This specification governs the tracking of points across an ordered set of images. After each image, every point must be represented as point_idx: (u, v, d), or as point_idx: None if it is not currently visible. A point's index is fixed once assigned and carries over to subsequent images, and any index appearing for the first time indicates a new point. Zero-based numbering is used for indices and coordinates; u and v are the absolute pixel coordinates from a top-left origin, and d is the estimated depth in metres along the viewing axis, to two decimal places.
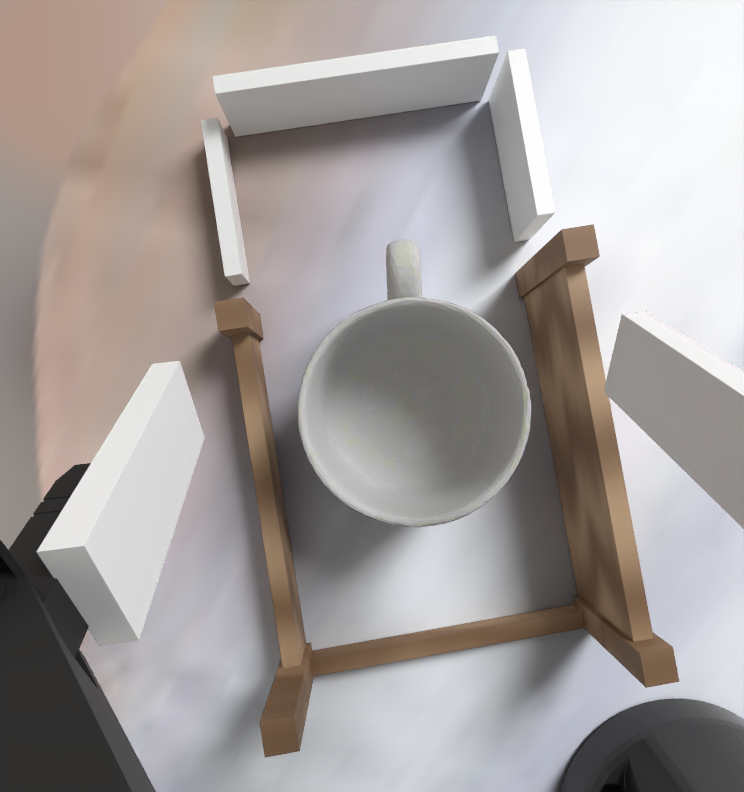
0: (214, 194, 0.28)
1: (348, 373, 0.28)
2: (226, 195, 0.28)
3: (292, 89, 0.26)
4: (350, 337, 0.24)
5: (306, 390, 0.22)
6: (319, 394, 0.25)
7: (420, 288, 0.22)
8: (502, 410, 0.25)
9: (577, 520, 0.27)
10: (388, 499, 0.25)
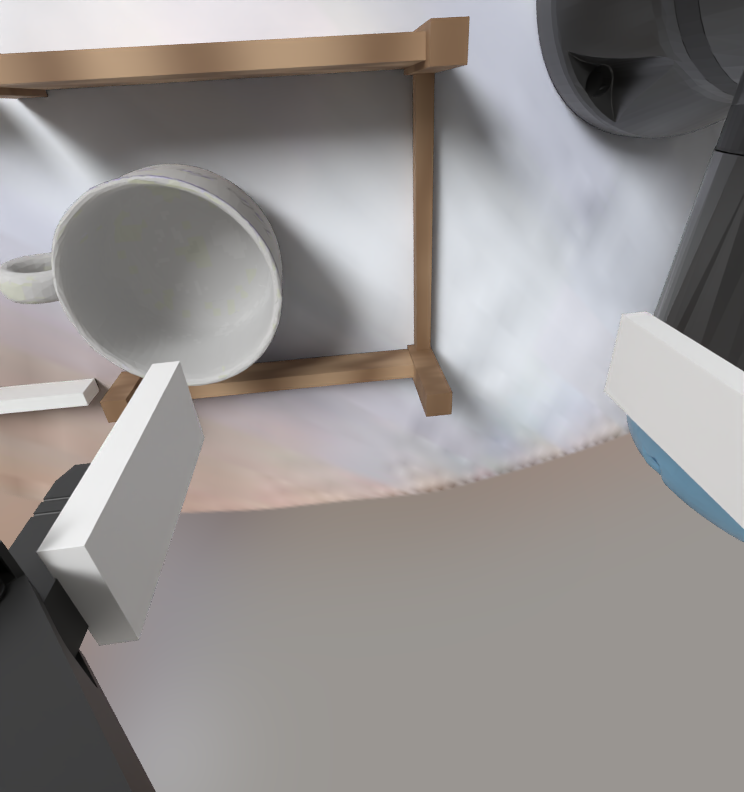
0: (12, 411, 0.32)
1: (164, 308, 0.30)
2: (10, 402, 0.31)
3: None
4: (116, 327, 0.26)
5: None
6: (178, 349, 0.28)
7: (45, 274, 0.23)
8: None
9: (310, 72, 0.24)
10: (272, 298, 0.27)
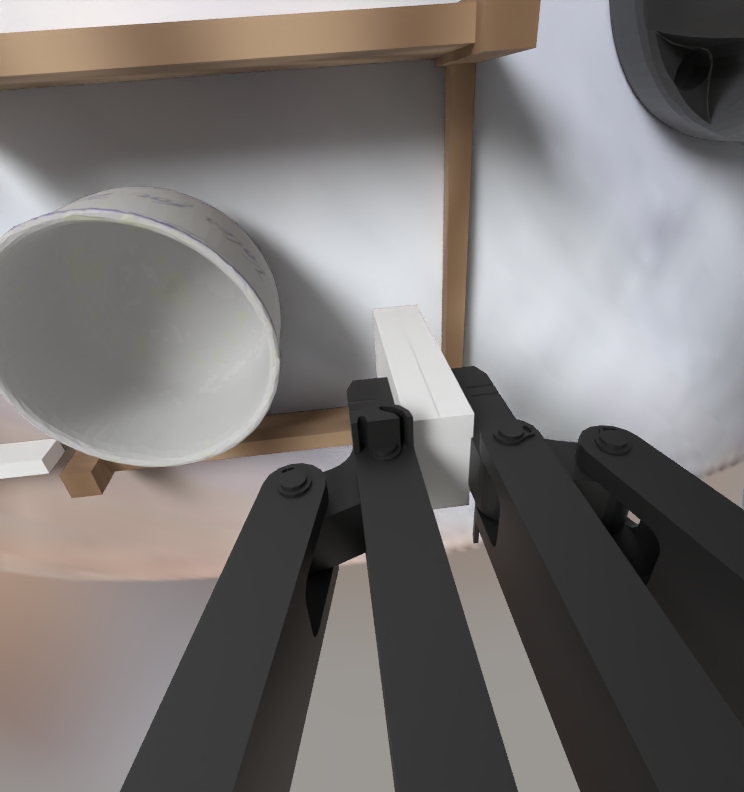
0: None
1: (136, 360, 0.24)
2: None
3: None
4: (71, 392, 0.21)
5: (132, 459, 0.20)
6: (152, 414, 0.23)
7: None
8: None
9: (314, 63, 0.18)
10: (268, 351, 0.21)
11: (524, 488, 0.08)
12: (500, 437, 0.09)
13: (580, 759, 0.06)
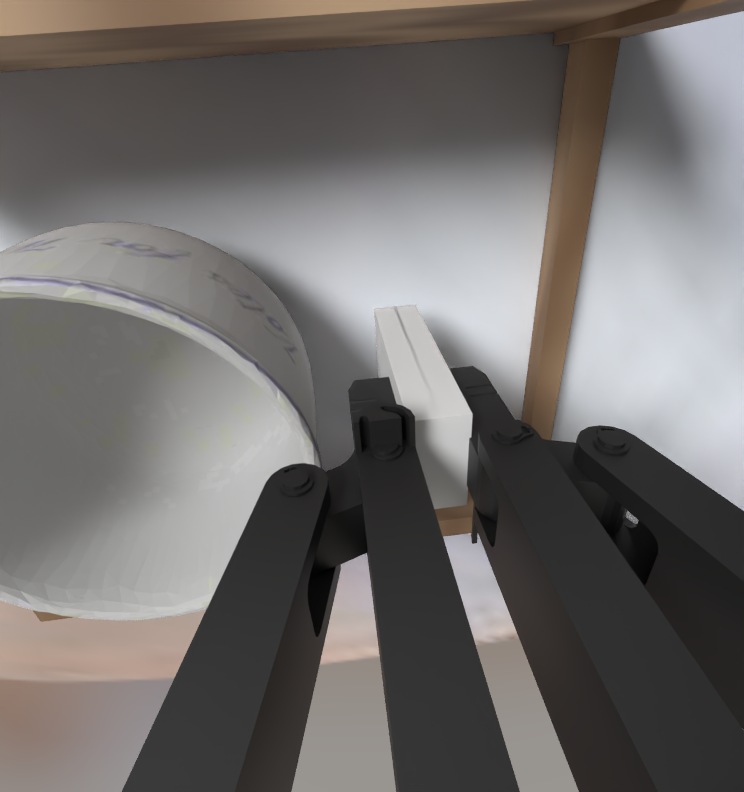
0: None
1: (114, 446, 0.18)
2: None
3: None
4: (16, 513, 0.14)
5: (103, 611, 0.14)
6: (135, 529, 0.16)
7: None
8: None
9: (391, 36, 0.12)
10: (297, 449, 0.15)
11: (522, 488, 0.08)
12: (498, 437, 0.09)
13: (578, 759, 0.06)
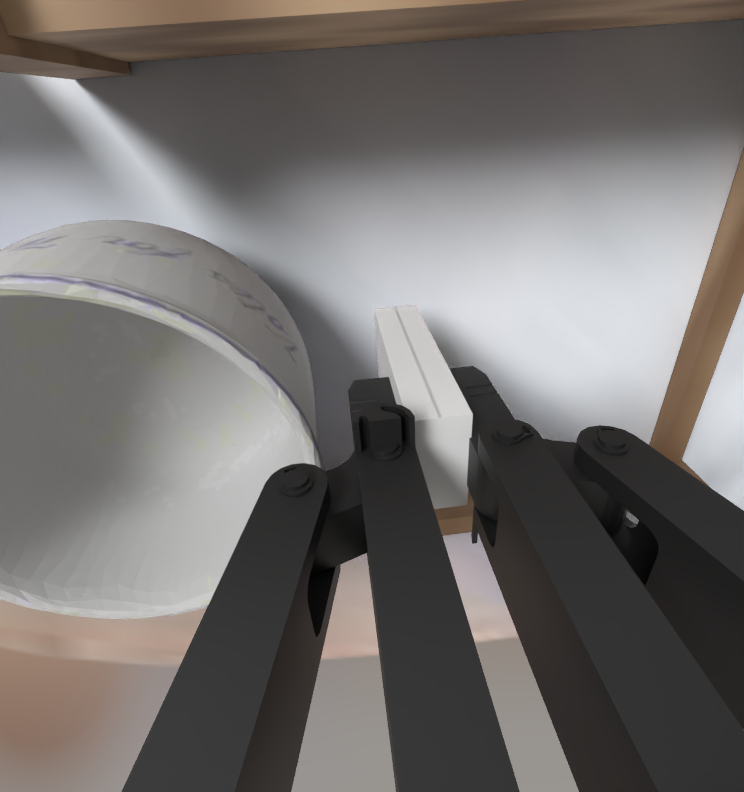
0: None
1: (113, 444, 0.18)
2: None
3: None
4: (15, 511, 0.14)
5: (102, 609, 0.14)
6: (134, 527, 0.16)
7: None
8: None
9: (646, 17, 0.12)
10: (297, 448, 0.15)
11: (522, 488, 0.08)
12: (498, 437, 0.09)
13: (578, 760, 0.06)
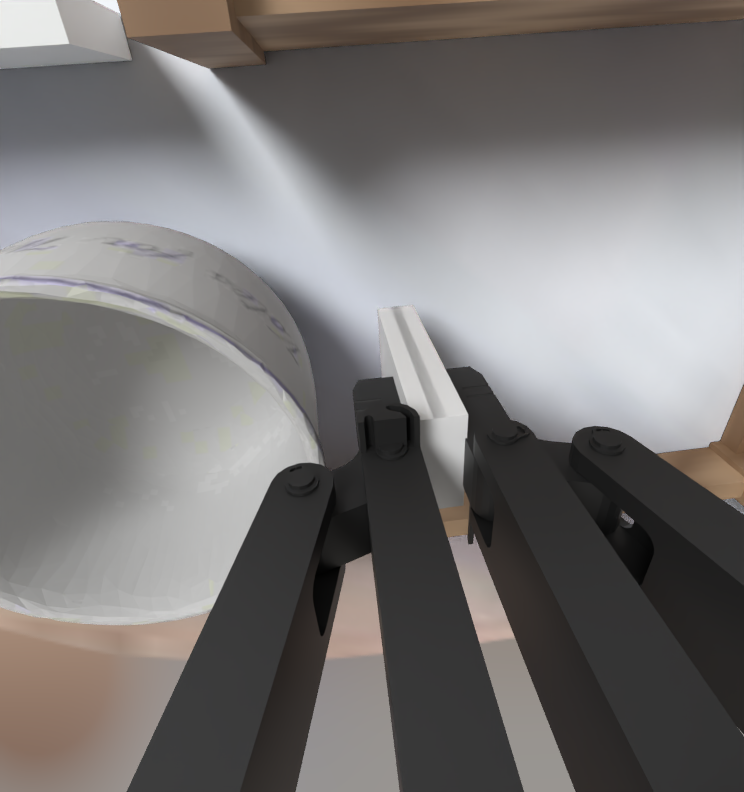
0: None
1: (111, 448, 0.18)
2: None
3: None
4: (12, 516, 0.14)
5: (102, 616, 0.14)
6: (133, 532, 0.16)
7: None
8: None
9: None
10: (298, 450, 0.15)
11: (518, 489, 0.08)
12: (494, 438, 0.09)
13: (575, 761, 0.06)
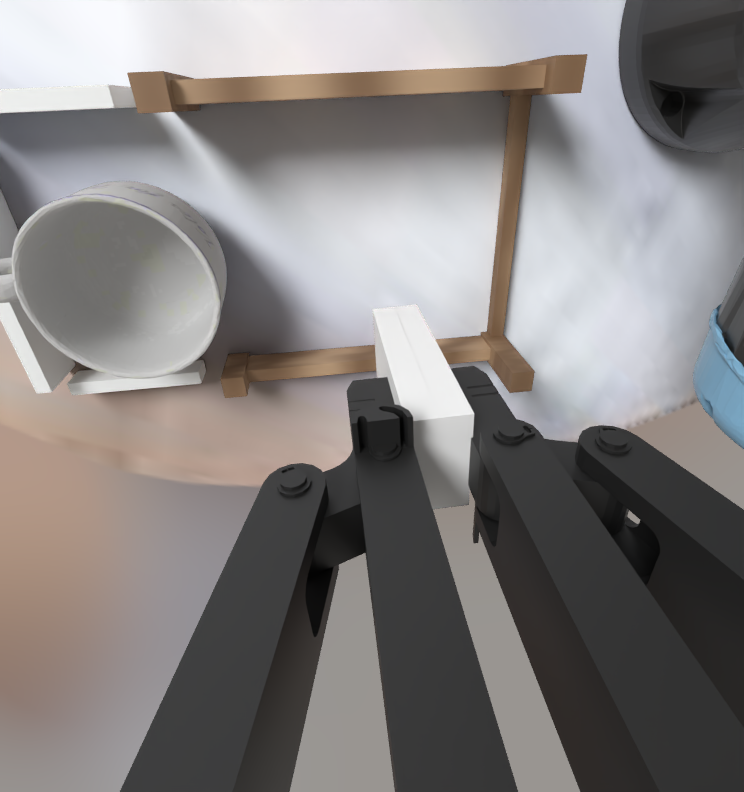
0: (134, 388, 0.35)
1: (121, 308, 0.33)
2: (134, 380, 0.35)
3: (29, 333, 0.31)
4: (74, 324, 0.29)
5: (117, 371, 0.29)
6: (132, 346, 0.31)
7: (6, 277, 0.25)
8: None
9: (431, 93, 0.28)
10: None
11: (524, 488, 0.08)
12: (500, 437, 0.09)
13: (579, 759, 0.06)
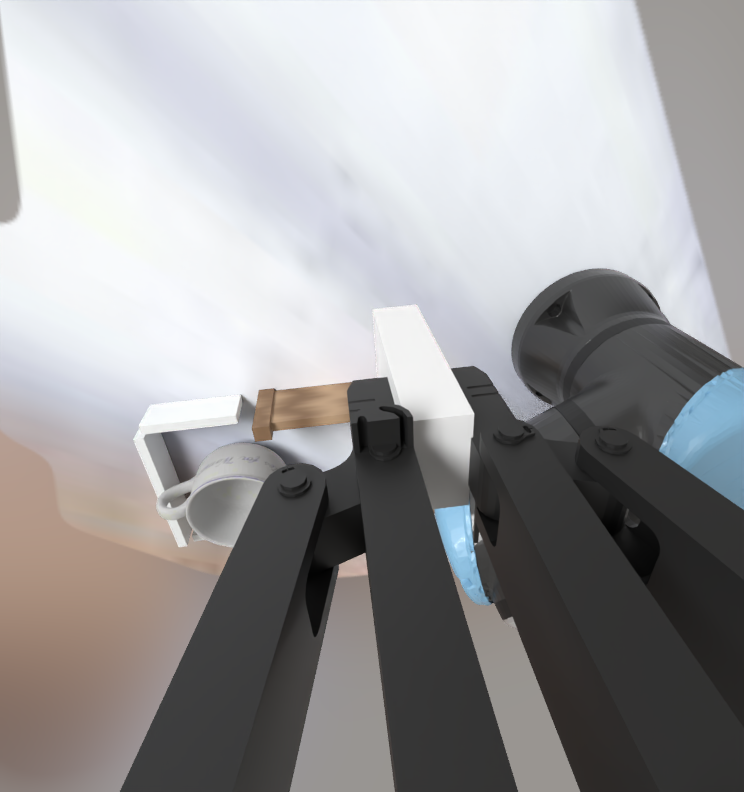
0: None
1: (226, 496, 0.55)
2: None
3: None
4: (207, 518, 0.52)
5: (232, 545, 0.52)
6: (236, 523, 0.54)
7: (180, 508, 0.48)
8: None
9: None
10: None
11: (524, 488, 0.08)
12: (500, 437, 0.09)
13: (580, 759, 0.06)
